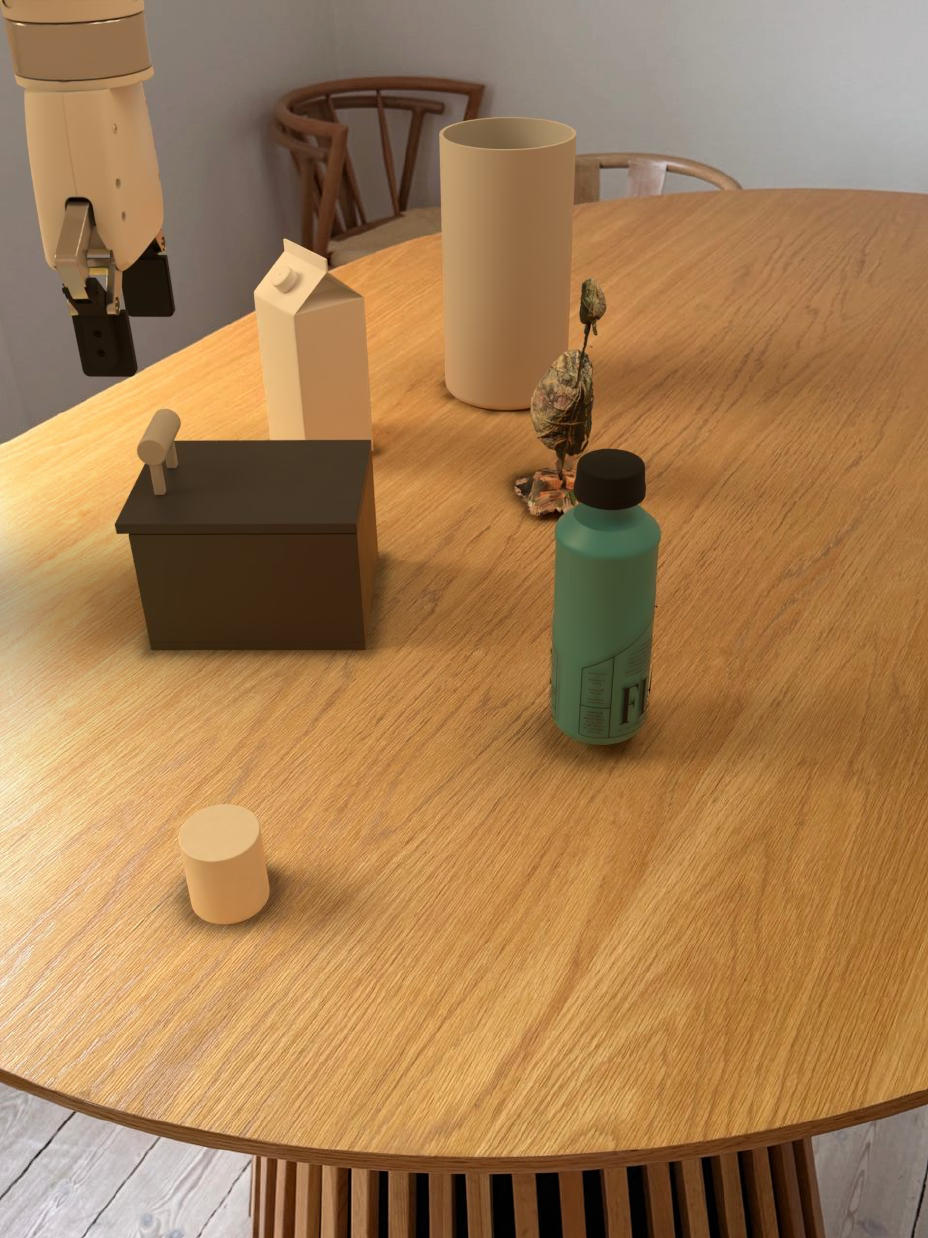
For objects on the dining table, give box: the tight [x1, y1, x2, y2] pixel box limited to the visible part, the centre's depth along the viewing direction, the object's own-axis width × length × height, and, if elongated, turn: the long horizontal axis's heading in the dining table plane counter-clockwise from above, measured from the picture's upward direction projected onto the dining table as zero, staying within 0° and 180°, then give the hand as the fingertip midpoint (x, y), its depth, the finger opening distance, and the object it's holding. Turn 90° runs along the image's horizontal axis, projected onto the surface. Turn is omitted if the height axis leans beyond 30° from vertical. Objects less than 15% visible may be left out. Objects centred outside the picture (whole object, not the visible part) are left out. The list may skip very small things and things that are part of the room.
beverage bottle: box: [547, 448, 662, 746], centre depth 74 cm, size 6×7×20 cm
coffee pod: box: [177, 803, 270, 925], centre depth 67 cm, size 4×4×5 cm
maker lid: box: [114, 408, 372, 535], centre depth 86 cm, size 16×13×5 cm
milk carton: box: [253, 238, 374, 452], centre depth 109 cm, size 7×7×19 cm
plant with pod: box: [513, 277, 608, 517], centre depth 101 cm, size 8×11×20 cm
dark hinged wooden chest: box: [127, 450, 379, 651], centre depth 90 cm, size 16×13×10 cm
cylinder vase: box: [438, 116, 577, 411], centre depth 118 cm, size 12×12×25 cm
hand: (132, 343), depth 77 cm, fingers open, 9 cm apart
